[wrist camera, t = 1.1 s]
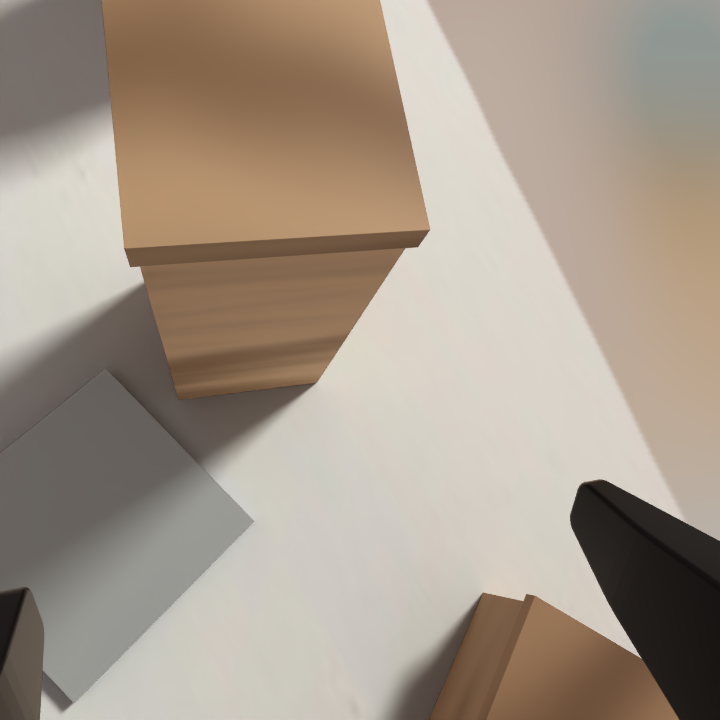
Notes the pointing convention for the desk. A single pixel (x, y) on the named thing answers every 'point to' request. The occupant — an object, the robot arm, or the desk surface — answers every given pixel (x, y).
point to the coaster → (105, 527)
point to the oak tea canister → (258, 179)
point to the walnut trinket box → (544, 670)
